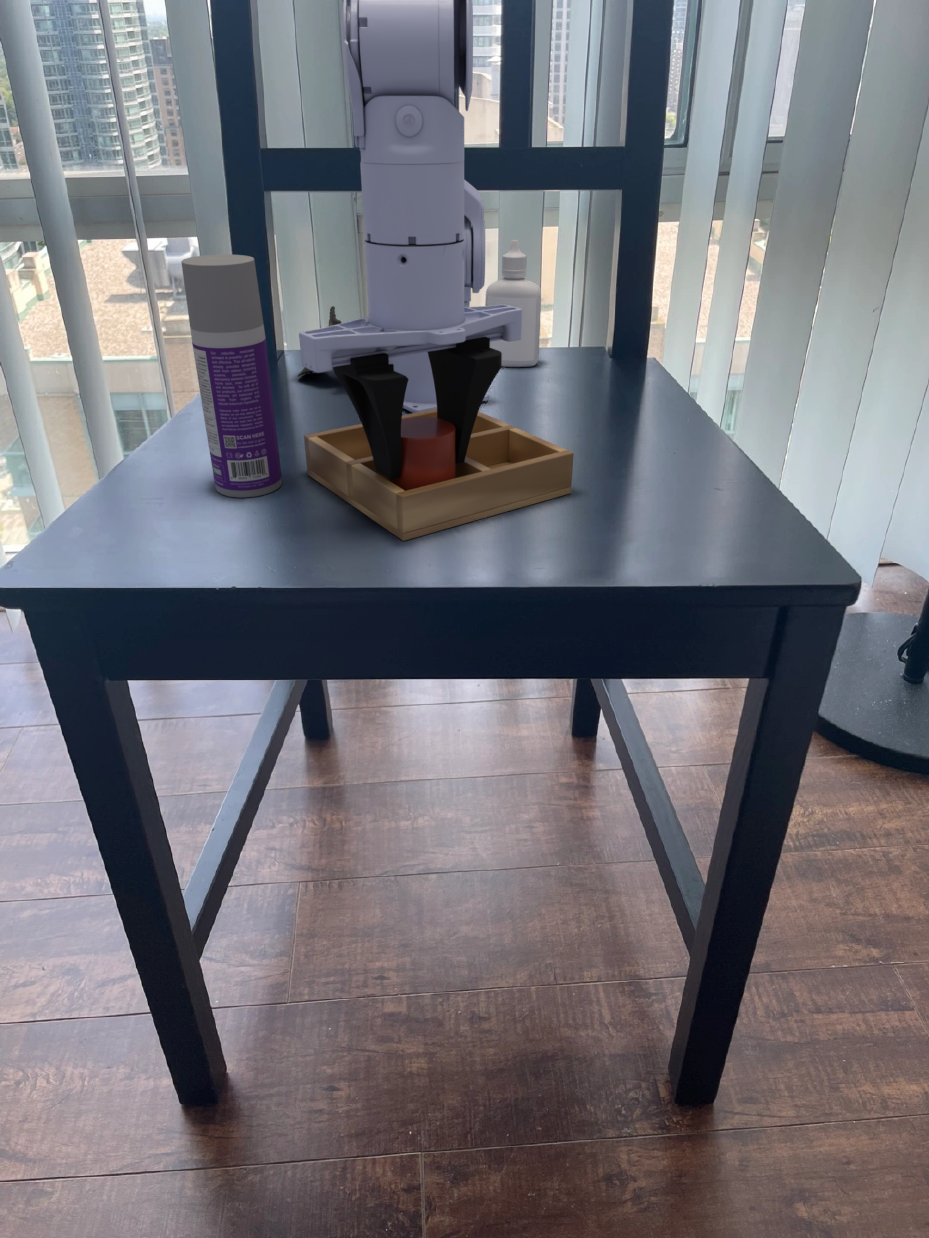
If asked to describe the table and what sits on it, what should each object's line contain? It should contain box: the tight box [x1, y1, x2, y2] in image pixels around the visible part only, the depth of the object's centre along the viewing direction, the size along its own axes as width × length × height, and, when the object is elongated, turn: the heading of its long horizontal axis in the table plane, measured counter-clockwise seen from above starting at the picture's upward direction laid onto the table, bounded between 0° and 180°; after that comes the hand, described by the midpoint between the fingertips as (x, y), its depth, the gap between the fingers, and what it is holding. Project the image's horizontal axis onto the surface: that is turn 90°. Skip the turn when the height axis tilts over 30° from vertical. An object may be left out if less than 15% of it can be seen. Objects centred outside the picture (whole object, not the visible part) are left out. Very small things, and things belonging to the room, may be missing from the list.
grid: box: [303, 409, 575, 542], centre depth 60 cm, size 14×14×3 cm
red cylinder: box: [389, 417, 456, 491], centre depth 55 cm, size 4×4×4 cm
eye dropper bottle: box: [484, 239, 542, 368], centre depth 87 cm, size 4×6×12 cm
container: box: [180, 254, 283, 498], centre depth 57 cm, size 5×5×15 cm
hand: (420, 466), depth 56 cm, fingers closed on red cylinder, 4 cm apart
